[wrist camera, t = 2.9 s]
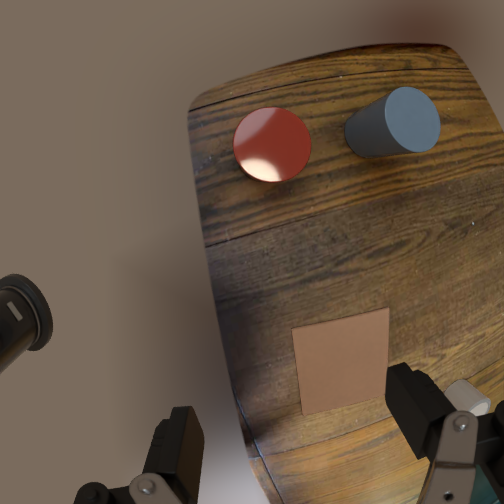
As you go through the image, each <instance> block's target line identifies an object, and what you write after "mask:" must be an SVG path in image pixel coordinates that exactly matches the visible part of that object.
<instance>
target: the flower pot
mask: <svg viewBox="0 0 504 504" xmlns="http://www.w3.org/2000/svg"><path fill="white" fill-rule="evenodd" d="M469 504H501V503H500V501H499V499H498V497H497V495H496V494H495V492H494V490H493V488H492V486H491V485H490V483H489V481H488V479H487V478H486V476H485V474H484V473H483V471H482V469H481V467H480V466H479V464H478V465H476V474H475V479H474V484H473V489H472V494H471V498H470V503H469Z"/></svg>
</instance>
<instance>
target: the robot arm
mask: <svg viewBox="0 0 504 504" xmlns="http://www.w3.org/2000/svg"><path fill="white" fill-rule="evenodd" d="M41 329H42V327H41V319H40V316H39V313H38V310H37V308H36V306H35V304H34V303H33V301H32V300H31V298H30V297H29V296H28V295H27V294H26V293H25V292H24V291H23V290H22V289H20V288H19V287H17V286H14V285H7V286H5V287H3V288H1V289H0V374H1V373H2V372H3V371H4V370H5V369H6V368H7V367H8V366H9V365H10V364H12V363H13V362H14V361H15V360H16V359H17V358H18V357H19V356H20V355H21V354H22V353H23V352H24V351H26V350H27V349H28V348H29V347H30V346H31V345H33V344H34V343H35V342H37V341H38V339H39V338H40V335H41ZM385 400H386V404H387V407H388V409H389V410H390V412H391V414H392V415H393V417H394V419H395V421H396V422H397V424H398V426H399V428H400V429H401V431H402V433H403V435H404V436H405V438H406V440H407V442H408V443H409V445H410V447H411V449H412V450H413V452H414V454H415V456H416V458H417V459H418V460H419V459H421V458H424V457H426V456H427V458H428V459H429V461H430V464H429V468H428V471H427V474H426V477H425V481H424V484H423V487H422V490H421V492H420V495H419V498H418V501H417V503H416V504H469V503H470V498H471V494H472V489H473V484H474V479H475V474H476V465H478V464H479V466H480V467H481V469H482V471H483V473H484V474H485V476H486V478H487V479H488V481H489V483H490V485H491V486H492V488H493V490H494V492H495V494H496V495H497V497H498V499H499V501H500V503H501V504H504V400H503V401H501V402H500V403H499V404H498V405H497V406H496V409H495V411H494V412H493V413H489V414H484V415H480V416H475V415H474V414H473V413H471V412H469V411H464V410H459V411H458V410H457V409H456V408H455V407H454V406H453V404H452V403H451V402H450V401H449V400H448V398H447V397H446V396H445V395H444V394H443V392H442V391H441V390H440V389H439V388H438V386H437V385H436V384H434V382H433V380H432V379H431V378H430V377H429V376H428V375H427V374H425V373H423V372H422V371H420V370H415V371H412V370H411V368H410V367H409V366H408V365H407V364H406V363H405V362H403V363H400V364H397V365H394V366H391V367H388V368H387V372H386V387H385ZM203 450H204V434H203V430H202V428H201V426H200V423H199V421H198V418H197V416H196V414H195V411H194V409H193V407H192V406H184V407H174V408H173V409H172V412H171V416H170V419H163V420H162V421H161V422H160V424H159V425H158V426H157V427H156V429H155V432H154V435H153V439H152V442H151V446H150V449H149V452H148V455H147V458H146V462H145V465H144V469H143V472H142V474H141V475H139V476H137V477H136V478H134V479H133V480H132V481H131V483H130V485H129V486H125V487H120V488H114V489H107V487H106V486H105V485H103V484H101V483H98V482H91V483H87V484H85V485H83V486H82V487H81V488H80V489H79V491H78V493H77V495H76V498H75V501H74V504H197V502H198V493H199V483H200V476H201V467H202V459H203Z"/></svg>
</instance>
